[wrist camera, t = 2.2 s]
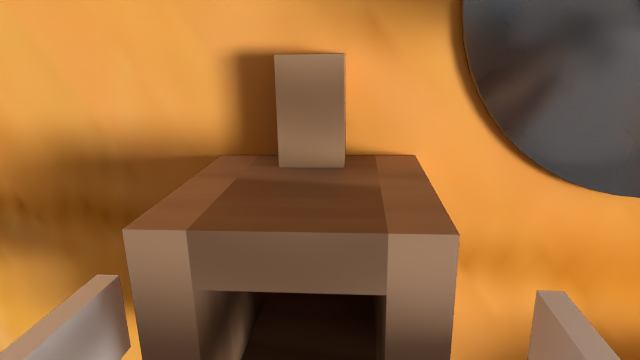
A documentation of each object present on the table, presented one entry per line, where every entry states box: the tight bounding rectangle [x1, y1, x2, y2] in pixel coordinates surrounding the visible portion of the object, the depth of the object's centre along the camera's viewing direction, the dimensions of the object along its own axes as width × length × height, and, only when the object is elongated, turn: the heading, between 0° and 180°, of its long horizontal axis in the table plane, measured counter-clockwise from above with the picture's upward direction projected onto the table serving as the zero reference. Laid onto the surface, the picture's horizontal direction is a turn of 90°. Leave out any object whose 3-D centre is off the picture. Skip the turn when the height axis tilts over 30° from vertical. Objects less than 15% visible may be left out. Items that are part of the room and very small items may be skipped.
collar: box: [122, 53, 460, 360], centre depth 15 cm, size 12×8×8 cm, turn 1°
